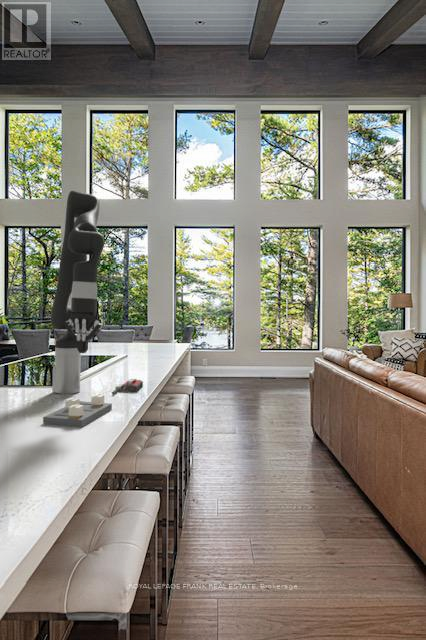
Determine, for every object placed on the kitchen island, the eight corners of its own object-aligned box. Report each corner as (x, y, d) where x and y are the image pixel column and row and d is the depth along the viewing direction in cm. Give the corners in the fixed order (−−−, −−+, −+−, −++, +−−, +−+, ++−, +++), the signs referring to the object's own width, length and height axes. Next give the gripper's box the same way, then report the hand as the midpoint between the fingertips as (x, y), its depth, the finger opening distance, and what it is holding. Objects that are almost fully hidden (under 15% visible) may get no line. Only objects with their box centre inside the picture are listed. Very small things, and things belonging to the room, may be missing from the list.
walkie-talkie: (123, 386, 178) (109, 396, 158) (123, 375, 177) (109, 385, 158) (144, 387, 177) (132, 397, 157) (144, 376, 177) (133, 386, 157)
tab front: (68, 415, 120) (68, 405, 120) (73, 412, 123) (74, 403, 123) (78, 416, 120) (78, 406, 120) (83, 413, 123) (83, 404, 123)
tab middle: (65, 408, 128) (65, 399, 128) (70, 406, 131) (70, 397, 131) (74, 409, 128) (74, 399, 127) (79, 406, 130) (79, 397, 130)
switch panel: (43, 423, 120) (43, 416, 120) (77, 407, 140) (77, 400, 140) (82, 427, 118) (82, 419, 118) (111, 409, 138) (111, 403, 138)
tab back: (91, 404, 134) (91, 395, 134) (95, 402, 137) (95, 393, 137) (100, 404, 134) (100, 396, 133) (104, 402, 136) (104, 394, 136)
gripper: (58, 295, 127) (56, 352, 128) (98, 298, 124) (96, 356, 125) (71, 295, 134) (69, 349, 135) (109, 298, 132) (107, 352, 133)
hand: (82, 352), depth 130 cm, fingers closed
